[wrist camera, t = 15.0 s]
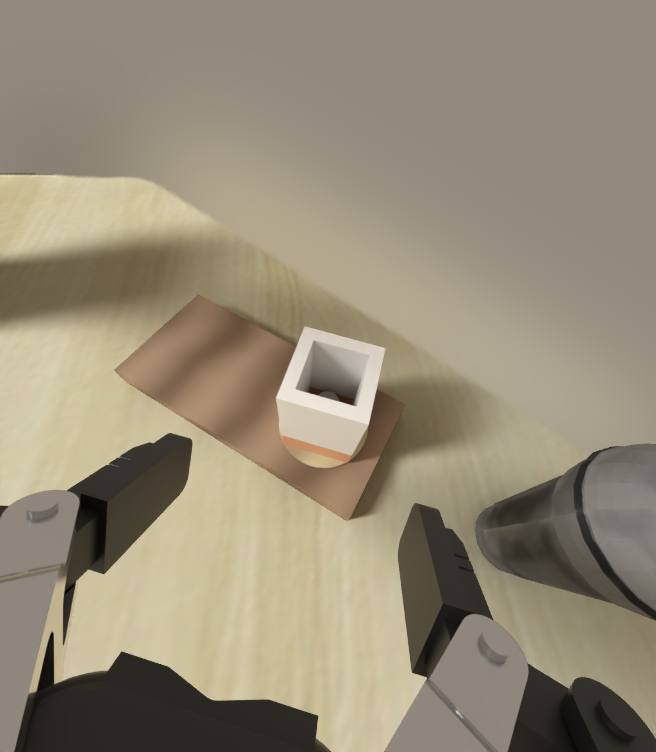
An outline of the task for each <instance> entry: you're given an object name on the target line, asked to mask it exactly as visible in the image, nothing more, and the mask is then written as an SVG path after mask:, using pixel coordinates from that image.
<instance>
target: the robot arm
mask: <svg viewBox="0 0 656 752" xmlns="http://www.w3.org/2000/svg"><path fill="white" fill-rule="evenodd" d="M191 452H192V440H191V439H190V438H186V437H183V436H179V435H176V434H172V433H169V434H167V435H165V436H164V437H162V438H161V439H159V440H158V441H156V442H155V443H150V442H149V443H146V444H143V445H140V446H137V447H134V448H132V449H130V450H129V451H127V452H126V453H124V454H123V455H121V456H120V458H116V459H115V460H113V461H112V462H110V463H109V465H106V466H104V467H103V468H101V469H99V470H98V471H96V472H95V473H93V474H92V475H90V476H89V477H87V478H85V479H84V480H82V481H81V482H79V483H78V484H76V485H75V486H73V487H71V488H70V489H68V490H67V491H64V490H49V491H42V492H38V493H34V494H31V495H28V496H26V497H23V498H21V499H19V500H17V501H16V502H14V503H13V504H11V505H10V506H0V752H331V751H330V750H329V749H328V748H327V747H326V746H325V745H324V744H323V743H321V742H320V741H319V740H318V739H316V731H317V722H318V716H317V715H314V714H311V713H308V712H305V711H302V710H299V709H296V708H293V707H290V706H286V705H283V704H280V703H277V702H274V701H271V700H230V701H214V700H211V699H209V698H207V697H206V696H204V695H203V694H202V693H201V692H199V691H198V690H197V689H196V688H194V687H193V686H192V685H191V684H189V683H188V682H187V681H186V680H184V679H183V678H182V677H181V676H179V675H178V674H177V673H176V672H174V671H173V670H172V669H171V668H169V667H167V666H164V665H161V664H158V663H155V662H152V661H149V660H146V659H143V658H140V657H137V656H134V655H131V654H128V653H125V652H121V653H120V654H119V656H118V657H117V659H116V660H115V662H114V663H113V665H112V666H111V668H110V669H109V670H108V671H99V672H92V673H86V674H83V675H79V676H75V677H71V678H69V679H66V680H64V681H62V680H63V669H64V661H65V654H66V649H67V643H68V638H69V632H70V626H71V621H72V615H73V610H74V604H75V599H76V593H77V587H78V579H79V578H80V577H81V576H82V575H83V574H84V573H85V572H86V571H87V570H88V569H89V570H92V571H95V572H98V573H102V574H105V573H106V572H107V571H108V570H109V568H110V567H111V566H112V565H113V564H114V563H115V562H116V561H117V560H118V559H119V558H120V557H121V556H122V555H123V554H124V553H125V552H126V551H127V550H128V548H129V547H130V546H131V545H132V544H133V543H134V542H135V541H136V540H137V539H138V538H139V537H140V536H141V535H142V534H143V533H144V532H145V531H146V529H147V528H148V527H149V526H150V525H151V524H152V523H153V522H154V521H155V520H156V519H157V518H158V517H159V516H160V515H161V514H162V513H163V512H164V511H165V509H166V508H167V507H168V506H169V505H170V504H171V503H172V502H173V501H174V500H175V499H176V498H177V497H178V496H179V495H180V493H181V492H182V491H183V489H184V487H185V485H186V482H187V479H188V475H189V467H190V459H191ZM398 562H399V571H400V579H401V587H402V595H403V603H404V612H405V620H406V628H407V636H408V645H409V653H410V661H411V669H412V673H415V674H418V675H421V676H424V677H427V680H426V681H425V683H424V684H423V686H422V688H421V689H420V691H419V693H418V695H417V696H416V698H415V700H414V701H413V703H412V705H411V707H410V708H409V710H408V712H407V713H406V715H405V717H404V719H403V720H402V722H401V724H400V725H399V727H398V729H397V731H396V732H395V734H394V736H393V737H392V739H391V741H390V742H389V744H388V746H387V748H386V749H385V751H384V752H656V739H655V737H654V736H653V734H652V733H651V731H650V730H649V728H648V727H647V725H646V724H645V723H644V722H643V720H642V719H641V718H640V717H639V715H638V714H637V713H636V712H635V711H634V710H633V709H632V708H631V707H630V706H629V705H628V704H627V703H626V702H625V701H624V700H623V699H622V698H621V697H620V696H618V695H617V694H616V693H615V692H613V691H612V690H611V689H609V688H608V687H606V686H605V685H603V684H601V683H599V682H597V681H595V680H593V679H590V678H586V677H580V678H577V679H575V680H574V682H573V683H572V685H571V686H570V688H569V689H568V688H567V687H565V686H563V685H562V684H560V683H558V682H557V681H555V680H554V679H552V678H550V677H549V676H547V675H545V674H544V673H542V672H540V671H539V670H537V669H535V668H534V667H532V666H531V665H529V664H528V663H527V660H526V658H525V655H524V653H523V651H522V650H521V648H520V646H519V645H518V643H517V642H516V641H515V639H514V638H513V637H512V636H511V635H510V634H509V633H508V632H507V631H506V630H505V629H504V628H503V627H502V626H500V625H499V624H498V623H496V622H495V621H494V620H493V618H492V615H491V613H490V610H489V608H488V605H487V603H486V600H485V598H484V595H483V593H482V590H481V588H480V585H479V582H478V580H477V577H476V575H475V574H474V570H473V567H472V565H471V562H470V561H469V557H468V555H467V552H466V549H465V547H464V544H463V543H462V542H461V540H460V539H459V538H458V536H457V535H456V534H455V533H454V531H453V530H451V529H448V528H445V526H444V523H443V520H442V517H441V515H440V512H439V510H438V509H435V508H431V507H428V506H424V505H421V504H417V503H415V504H414V505H413V507H412V510H411V512H410V515H409V518H408V520H407V523H406V526H405V528H404V531H403V534H402V537H401V539H400V543H399V549H398Z"/></svg>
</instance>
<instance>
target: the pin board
mask: <svg viewBox="0 0 656 752" xmlns="http://www.w3.org/2000/svg"><path fill="white" fill-rule="evenodd" d="M295 349H296V347H295V346H294V345H292V344H290V343H288V342H286V341H284V340H282V339H280V338H278V337H277V336H275V335H273V334H271V333H269V332H267V331H265V330H263V329H262V328H260V327H258V326H256V325H254V324H252V323H250V322H248V321H246V320H245V319H243V318H241V317H239V316H237V315H235V314H233V313H231V312H229V311H228V310H226V309H224V308H222V307H220V306H218V305H216V304H214V303H212V302H211V301H209V300H207V299H205V298H203V297H201V296H199V295H197V296H196V297H195V298H194V299H193V300H192V301H191V302H190V303H188V304H187V305H186V306H185V307H184V308H183V309H182V310H181V311H179V312H178V313H177V314H176V315H175V316H174V317H173V318H172V319H171V320H169V321H168V322H167V323H166V324H165V325H164V326H163V327H162V328H160V329H159V330H158V331H157V332H156V333H155V334H154V335H153V336H152V337H150V338H149V339H148V340H147V341H146V342H145V343H144V344H143V345H141V346H140V347H139V348H138V349H137V350H136V351H135V352H134V353H133V354H131V355H130V356H129V357H128V358H127V359H126V360H125V361H124V362H122V363H121V364H120V365H119V366H118V367H117V368H116V369H115V370H114V371H115V372H116V373H117V374H118V375H119V376H121V377H122V378H123V379H124V380H125V381H126V382H127V383H129V384H130V385H132V386H134V387H135V388H137V389H138V390H140V391H141V392H143V393H145V394H146V395H148V396H149V397H151V398H153V399H154V400H156V401H157V402H159V403H161V404H162V405H164V406H165V407H167V408H168V409H170V410H172V411H173V412H175V413H176V414H178V415H180V416H181V417H183V418H184V419H186V420H187V421H189V422H191V423H192V424H194V425H195V426H197V427H199V428H200V429H202V430H203V431H205V432H207V433H208V434H210V435H211V436H213V437H214V438H216V439H218V440H219V441H221V442H222V443H224V444H226V445H227V446H229V447H230V448H232V449H233V450H235V451H237V452H238V453H240V454H241V455H243V456H245V457H246V458H248V459H249V460H251V461H252V462H254V463H256V464H257V465H259V466H260V467H262V468H264V469H265V470H267V471H268V472H270V473H272V474H273V475H275V476H276V477H278V478H279V479H281V480H283V481H284V482H286V483H287V484H289V485H291V486H292V487H294V488H295V489H297V490H298V491H300V492H302V493H303V494H305V495H306V496H308V497H310V498H311V499H313V500H314V501H316V502H318V503H319V504H321V505H322V506H324V507H325V508H327V509H329V510H330V511H332V512H333V513H335V514H337V515H338V516H340V517H341V518H343V519H344V520H348V519H350V517H351V515H352V513H353V511H354V509H355V507H356V505H357V503H358V501H359V499H360V497H361V495H362V493H363V491H364V488H365V486H366V484H367V482H368V480H369V478H370V476H371V474H372V472H373V470H374V468H375V466H376V464H377V462H378V460H379V458H380V456H381V454H382V451H383V449H384V447H385V445H386V443H387V441H388V439H389V437H390V435H391V433H392V431H393V429H394V427H395V425H396V423H397V421H398V419H399V417H400V414H401V412H402V410H403V408H404V406H405V404H403V403H401V402H399V401H397V400H395V399H393V398H392V397H390V396H388V395H386V394H384V393H382V392H380V391H378V390H377V389H376V394H375V398H374V403H373V408H372V412H371V417H370V421H369V425H368V427H367V429H366V431H365V432H364V434H363V436H362V438H361V440H360V442H359V443H358V445H357V447H356V449H355V451H354V452H353V454H352V456H351V458H350V460H349V461H348V463H346V462H343V461H340V460H336V459H333V458H329V457H326V456H323V455H319V454H316V453H313V452H309V451H306V450H302V449H299V448H296V447H292V446H289V445H286V444H283V440H282V433H281V427H280V421H279V415H278V408H277V402H276V397H277V394H278V392H279V389H280V387H281V384H282V382H283V379H284V377H285V374H286V372H287V369H288V367H289V364H290V362H291V359H292V357H293V354H294V352H295ZM318 396H321V397H324V398H328V399H331V400H335V401H338V402H339V398H338V396H337V395H336V394H335V393H334V392H332V391H324V392H322V393H320V394H319V395H318Z"/></svg>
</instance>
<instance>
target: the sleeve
mask: <svg viewBox="0 0 656 752" xmlns="http://www.w3.org/2000/svg"><path fill="white" fill-rule="evenodd" d="M384 353H385V348H383V347H380V346H376V345H372V344H368V343H365V342H361V341H357V340H354V339H350V338H346V337H343V336H339V335H335V334H331V333H328V332H324V331H320V330H317V329H313V328H309V327H304V329H303V332H302V334H301V337H300V339H299V342H298V344H297V347H296V349H295V352H294V354H293V357H292V359H291V362H290V364H289V367H288V369H287V372H286V374H285V377H284V379H283V382H282V384H281V387H280V389H279V392H278V394H277V397H276V402H277V408H278V415H279V421H280V427H281V433H282V440H283V444H286V445H289V446H292V447H296V448H299V449H302V450H306V451H309V452H313V453H316V454H319V455H323V456H326V457H329V458H333V459H336V460H340V461H343V462H346V463H348V461H349V460H350V458H351V456H352V454H353V452H354V451H355V449H356V447H357V445H358V443H359V442H360V440H361V438H362V436H363V434H364V432H365V431H366V429H367V427H368V425H369V421H370V417H371V412H372V408H373V403H374V398H375V394H376V389H377V385H378V380H379V376H380V371H381V366H382V362H383V357H384ZM324 391H332V392H334V393H335V394H336V395H337V396H338V398H339V402H338V401H335V400H331V399H328V398H324V397H321V396H318V395H319V394H320V393H322V392H324Z"/></svg>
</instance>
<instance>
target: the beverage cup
mask: <svg viewBox="0 0 656 752" xmlns="http://www.w3.org/2000/svg"><path fill="white" fill-rule="evenodd" d="M476 537H477V542H478V545H479V547H480V549H481V551H482V553H483V554H484V556H485V557H486V558H487V560H488V561H489V562H490V563H491V564H493V565H494V566H495V567H496V568H498V569H499V570H502V571H504V572H507V573H511V574H513V575H516V576H518V577H521V578H524V579H527V580H531V581H535V582H538V583H542V584H545V585H549V586H553V587H556V588H560V589H563V590H567V591H570V592H574V593H578V594H581V595H585V596H588V597H592V598H595V599H599V600H603V601H606V602H610V603H613V604H616V605H618V606H621V607H623V608H626V609H628V610H631V611H633V612H635V613H638V614H640V615H643V616H645V617H648V618H650V619H653V620H656V444H638V445H630V446H625V447H623V446H615V447H609V448H606V449H603V450H599V451H596V452H593V453H592V454H591V455H590V456H589V457H588V458H587V459H586V460H584V461H582V462H580V463H579V464H577V465H575V466H574V467H572V468H571V469H569V470H568V471H567V472H566V473H565V474H564V475H562V476H559V477H557V478H555V479H552V480H550V481H548V482H545V483H543V484H541V485H538V486H536V487H533V488H531V489H529V490H526V491H524V492H522V493H519V494H517V495H515V496H512V497H510V498H507V499H505V500H503V501H500V502H498V503H496V504H494V505H493V506H491V507H489V508H487V509H485V510H484V511H483V512H482V513H481V514H480V516H479V518H478V520H477V522H476Z"/></svg>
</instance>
